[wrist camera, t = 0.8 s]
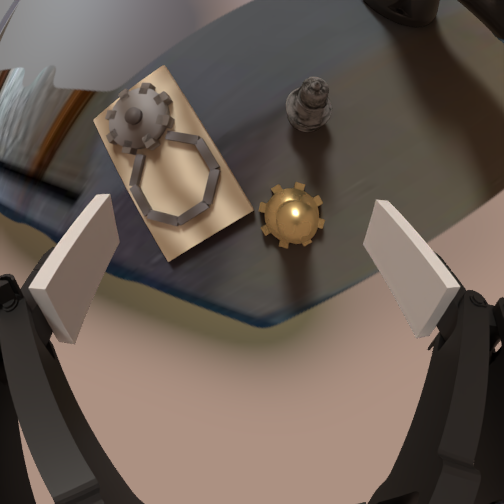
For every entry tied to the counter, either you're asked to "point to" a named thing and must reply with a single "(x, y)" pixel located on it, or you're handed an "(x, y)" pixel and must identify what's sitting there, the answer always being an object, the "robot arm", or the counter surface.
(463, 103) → the counter surface
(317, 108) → the stone chess piece
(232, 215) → the gear board
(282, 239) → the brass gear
